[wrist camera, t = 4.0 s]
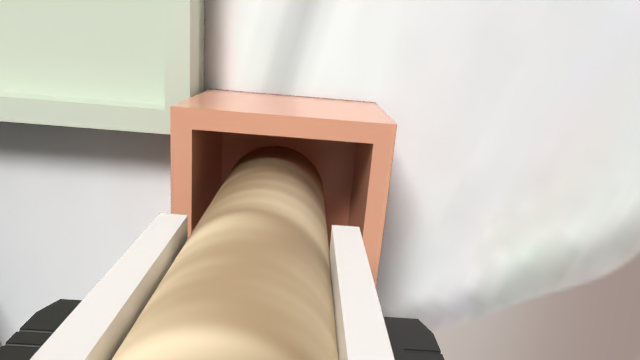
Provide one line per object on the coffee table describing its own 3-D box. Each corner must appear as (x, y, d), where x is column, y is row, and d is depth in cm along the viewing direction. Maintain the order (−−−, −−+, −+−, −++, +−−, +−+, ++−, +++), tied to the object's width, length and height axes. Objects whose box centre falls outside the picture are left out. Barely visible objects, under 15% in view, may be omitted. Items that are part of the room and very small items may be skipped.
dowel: (225, 234, 20) (-76, 903, 4) (227, 141, 19) (-163, 596, 3) (319, 241, 20) (351, 908, 5) (327, 149, 19) (405, 618, 3)
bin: (207, 241, 23) (171, 307, 17) (210, 88, 21) (170, 106, 15) (357, 251, 23) (371, 321, 17) (374, 102, 21) (397, 124, 15)
